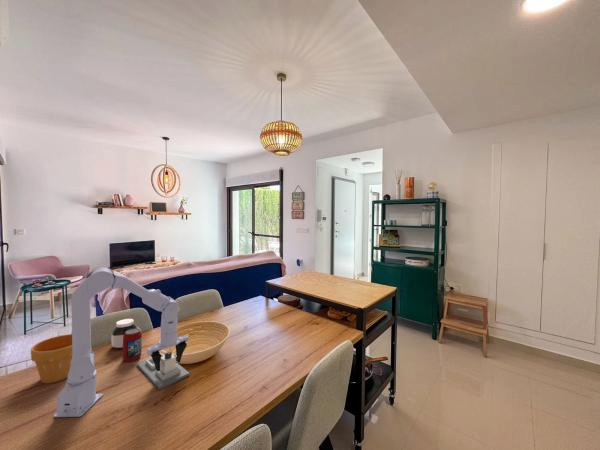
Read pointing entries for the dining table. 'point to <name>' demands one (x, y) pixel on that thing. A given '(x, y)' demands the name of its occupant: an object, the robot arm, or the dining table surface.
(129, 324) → the spread jar
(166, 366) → the plug
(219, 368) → the dining table surface
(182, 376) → the board
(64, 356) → the flower pot
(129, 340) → the beverage can
